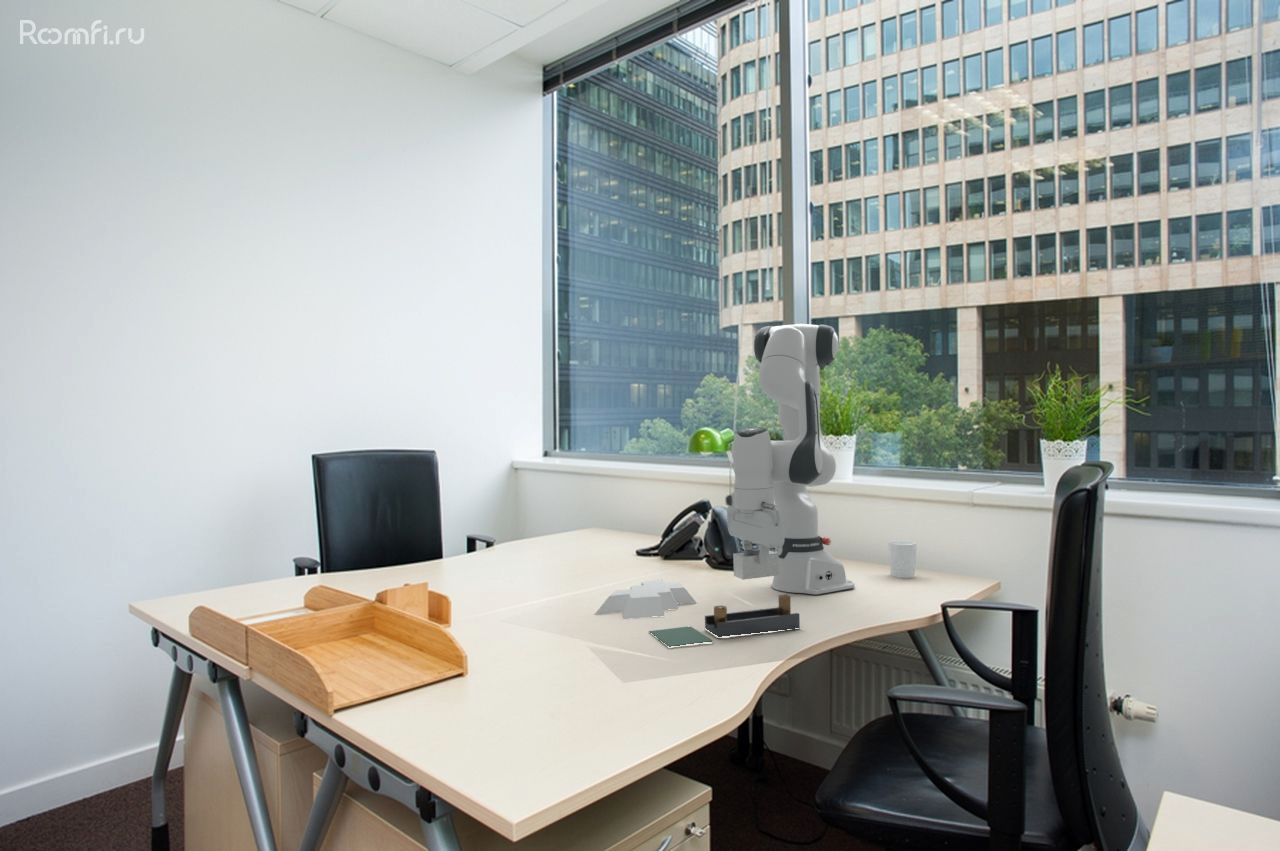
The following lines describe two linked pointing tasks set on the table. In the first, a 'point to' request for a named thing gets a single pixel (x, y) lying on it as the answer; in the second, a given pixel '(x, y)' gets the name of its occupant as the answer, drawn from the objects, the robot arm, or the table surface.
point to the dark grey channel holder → (752, 620)
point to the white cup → (902, 558)
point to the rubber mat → (680, 636)
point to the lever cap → (755, 565)
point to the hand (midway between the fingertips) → (756, 561)
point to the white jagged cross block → (646, 599)
